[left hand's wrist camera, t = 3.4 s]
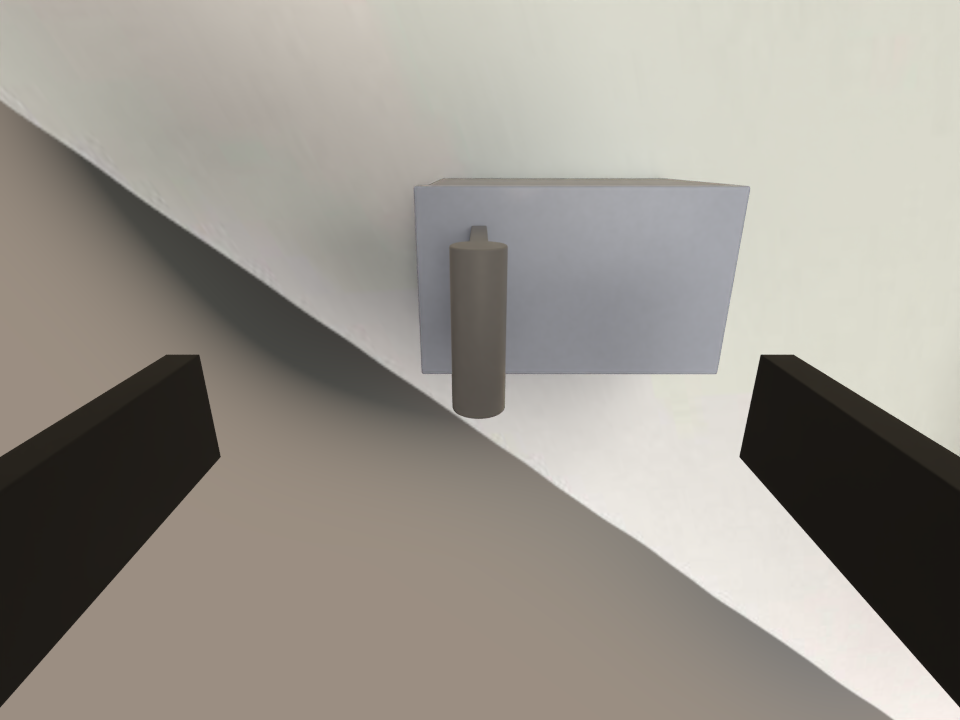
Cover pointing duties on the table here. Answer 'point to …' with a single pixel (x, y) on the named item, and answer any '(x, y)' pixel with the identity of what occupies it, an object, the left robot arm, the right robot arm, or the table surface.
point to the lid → (572, 281)
